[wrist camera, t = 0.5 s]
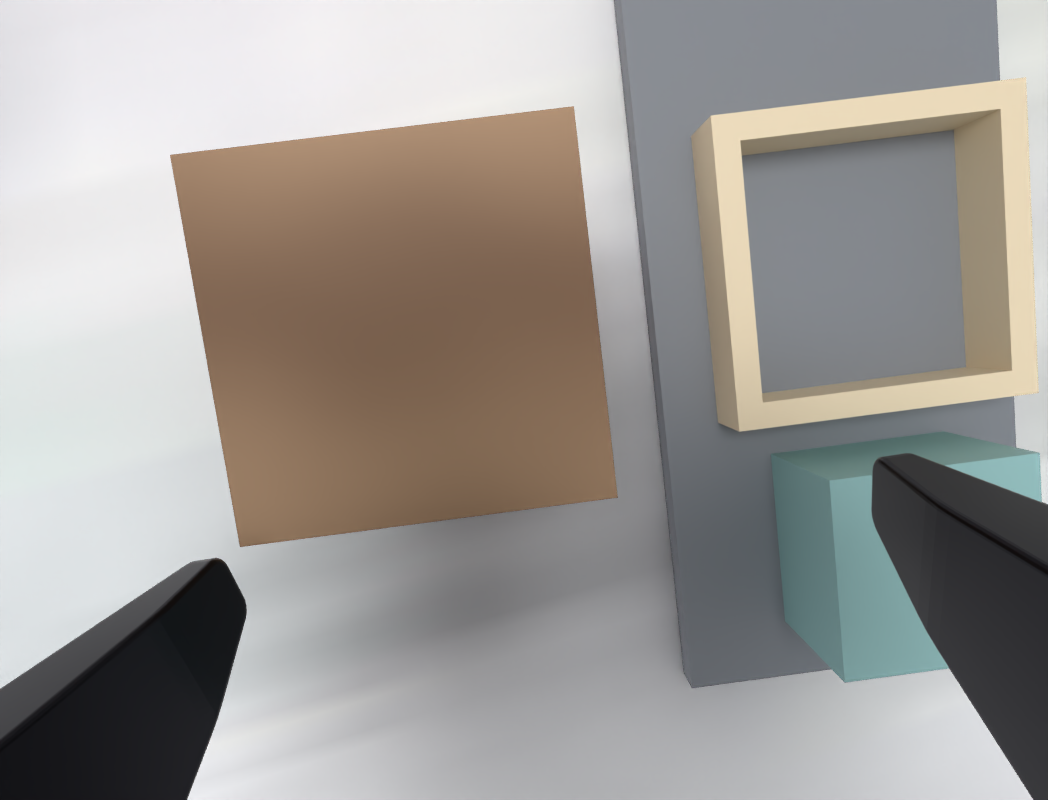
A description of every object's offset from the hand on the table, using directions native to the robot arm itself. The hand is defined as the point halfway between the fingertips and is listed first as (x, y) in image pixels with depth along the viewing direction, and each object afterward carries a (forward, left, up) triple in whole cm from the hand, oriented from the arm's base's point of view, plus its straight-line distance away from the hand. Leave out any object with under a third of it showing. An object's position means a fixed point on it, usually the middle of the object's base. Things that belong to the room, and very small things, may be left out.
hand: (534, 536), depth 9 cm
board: (0, -11, -14) cm, 18 cm away
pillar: (+3, +1, -14) cm, 14 cm away
